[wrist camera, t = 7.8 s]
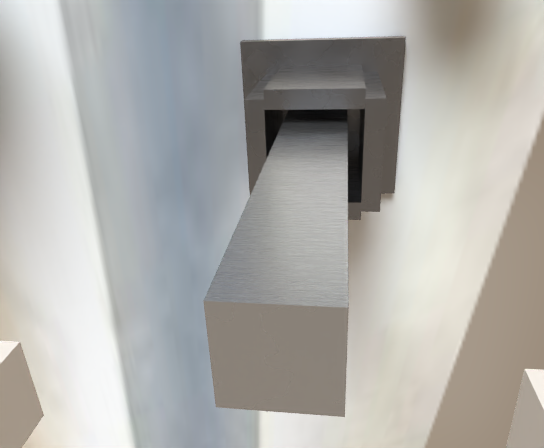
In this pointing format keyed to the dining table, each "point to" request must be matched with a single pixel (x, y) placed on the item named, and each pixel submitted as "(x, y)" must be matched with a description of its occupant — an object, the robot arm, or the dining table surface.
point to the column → (287, 278)
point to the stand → (329, 102)
